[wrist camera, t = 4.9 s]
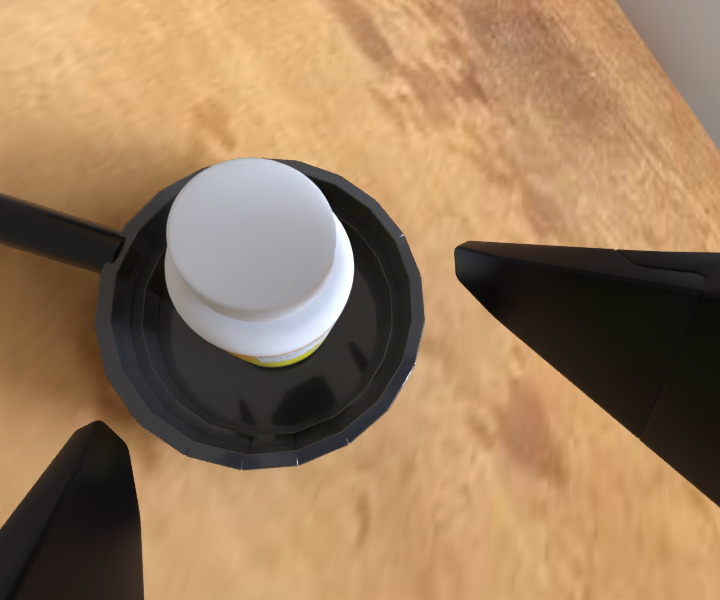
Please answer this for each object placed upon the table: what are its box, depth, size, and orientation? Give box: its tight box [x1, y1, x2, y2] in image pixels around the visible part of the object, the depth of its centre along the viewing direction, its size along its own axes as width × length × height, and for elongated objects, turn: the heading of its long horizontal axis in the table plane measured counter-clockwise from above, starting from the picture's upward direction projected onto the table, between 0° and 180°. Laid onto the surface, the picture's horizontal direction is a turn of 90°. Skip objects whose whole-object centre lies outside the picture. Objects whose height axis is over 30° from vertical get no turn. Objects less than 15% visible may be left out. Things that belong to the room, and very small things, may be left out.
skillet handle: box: [0, 193, 125, 274], centre depth 15 cm, size 10×2×2 cm, turn 74°
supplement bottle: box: [165, 158, 354, 368], centre depth 13 cm, size 6×6×10 cm
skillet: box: [94, 158, 425, 470], centre depth 17 cm, size 13×13×4 cm
